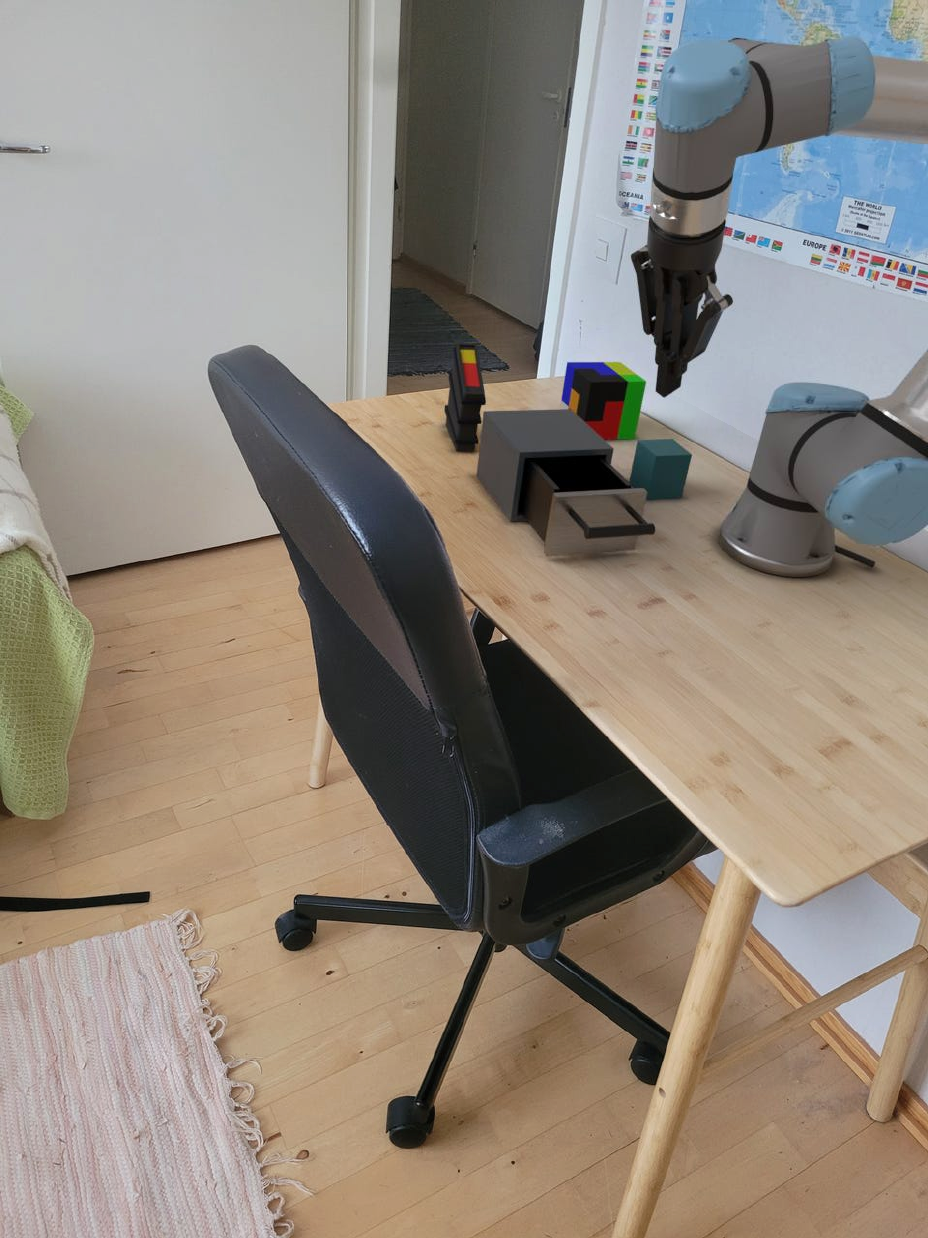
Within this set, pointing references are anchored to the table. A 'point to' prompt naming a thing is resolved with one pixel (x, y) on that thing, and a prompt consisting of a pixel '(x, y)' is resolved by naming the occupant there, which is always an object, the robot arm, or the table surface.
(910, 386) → the robot arm
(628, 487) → the drawer
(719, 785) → the table surface
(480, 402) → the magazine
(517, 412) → the cabinet
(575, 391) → the puzzle toy
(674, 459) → the block
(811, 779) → the table surface
